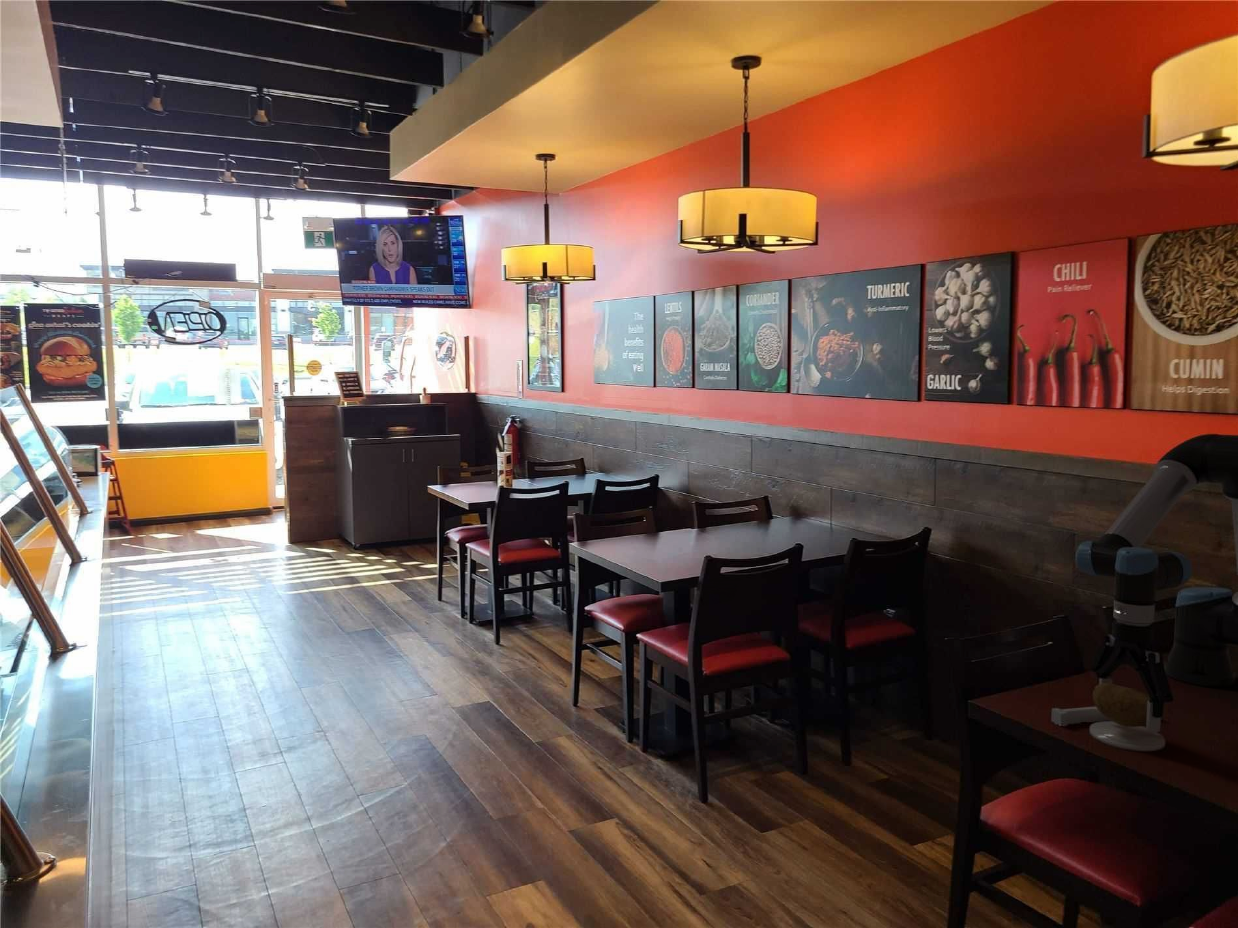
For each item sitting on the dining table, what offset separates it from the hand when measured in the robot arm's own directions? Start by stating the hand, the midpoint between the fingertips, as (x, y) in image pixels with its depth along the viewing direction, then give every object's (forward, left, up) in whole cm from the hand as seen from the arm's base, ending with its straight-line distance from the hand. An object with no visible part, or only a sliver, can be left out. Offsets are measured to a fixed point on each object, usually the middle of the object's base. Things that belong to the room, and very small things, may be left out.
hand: (1127, 718), depth 186 cm
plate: (0, 0, -4) cm, 4 cm away
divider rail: (-2, -10, -4) cm, 11 cm away
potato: (0, 0, -1) cm, 1 cm away
